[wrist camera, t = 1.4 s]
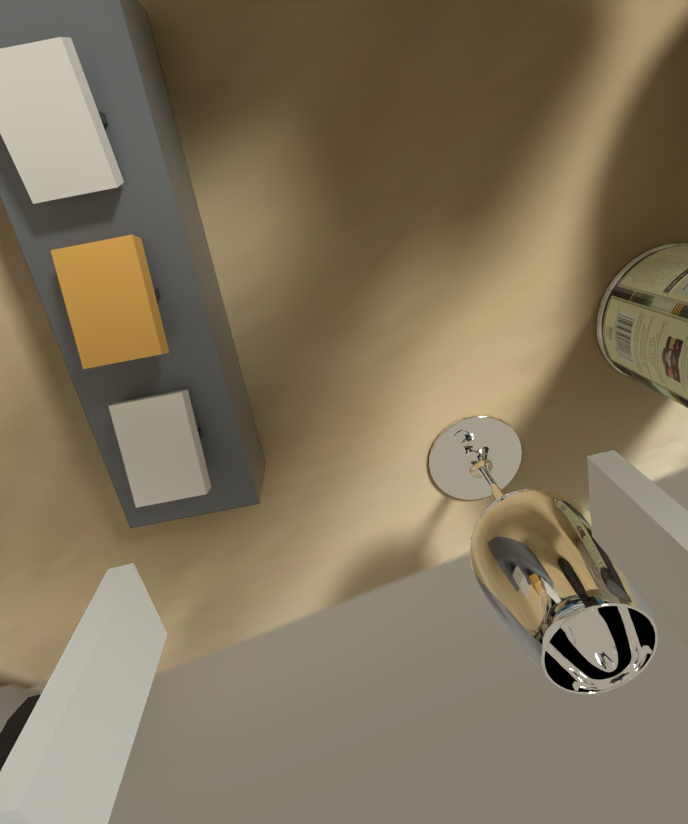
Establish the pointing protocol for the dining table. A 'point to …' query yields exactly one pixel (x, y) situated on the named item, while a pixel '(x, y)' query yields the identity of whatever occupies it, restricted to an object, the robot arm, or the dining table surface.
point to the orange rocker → (110, 301)
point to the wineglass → (544, 565)
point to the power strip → (163, 244)
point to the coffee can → (649, 321)
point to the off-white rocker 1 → (53, 122)
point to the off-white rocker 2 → (160, 448)
